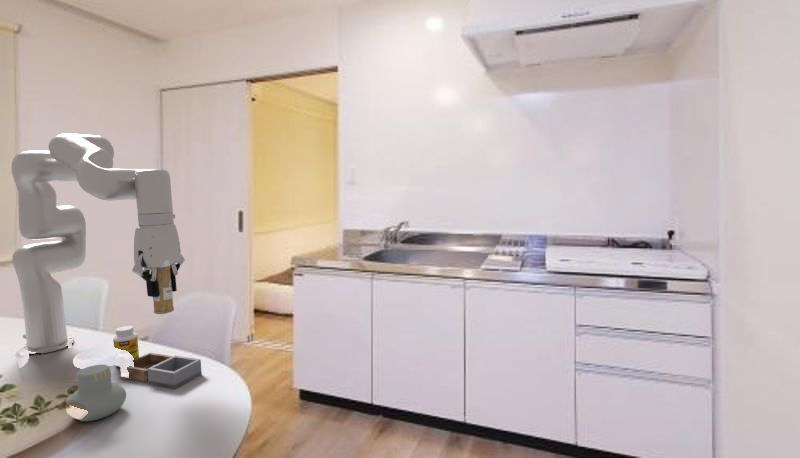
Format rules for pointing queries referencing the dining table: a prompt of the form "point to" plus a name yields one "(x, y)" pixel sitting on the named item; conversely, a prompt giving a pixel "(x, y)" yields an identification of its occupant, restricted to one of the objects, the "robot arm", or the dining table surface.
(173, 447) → the dining table surface
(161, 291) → the sprinkles bottle
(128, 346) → the supplement bottle
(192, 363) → the tray
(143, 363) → the brown wooden square frame
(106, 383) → the air freshener
